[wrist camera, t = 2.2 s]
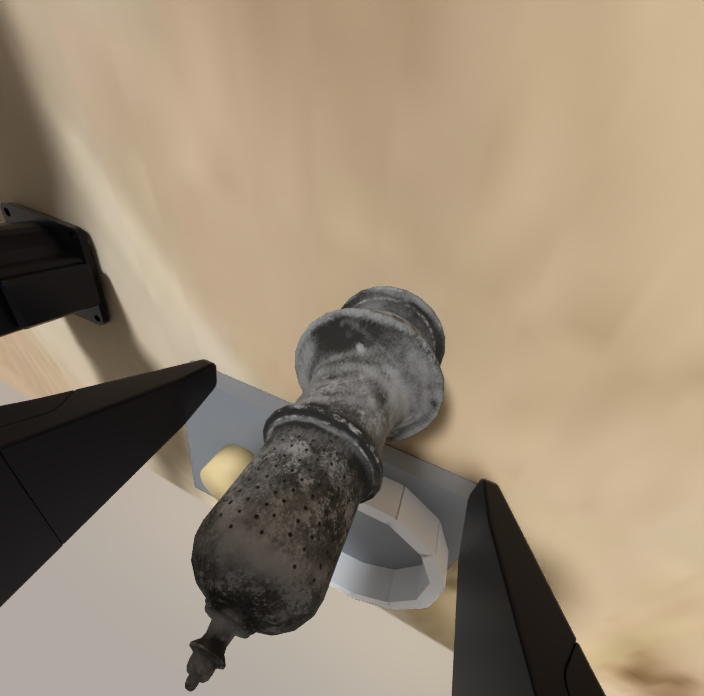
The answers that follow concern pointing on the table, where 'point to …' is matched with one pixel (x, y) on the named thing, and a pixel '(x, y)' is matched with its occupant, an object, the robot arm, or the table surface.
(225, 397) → the socket board
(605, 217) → the table surface
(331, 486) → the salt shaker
